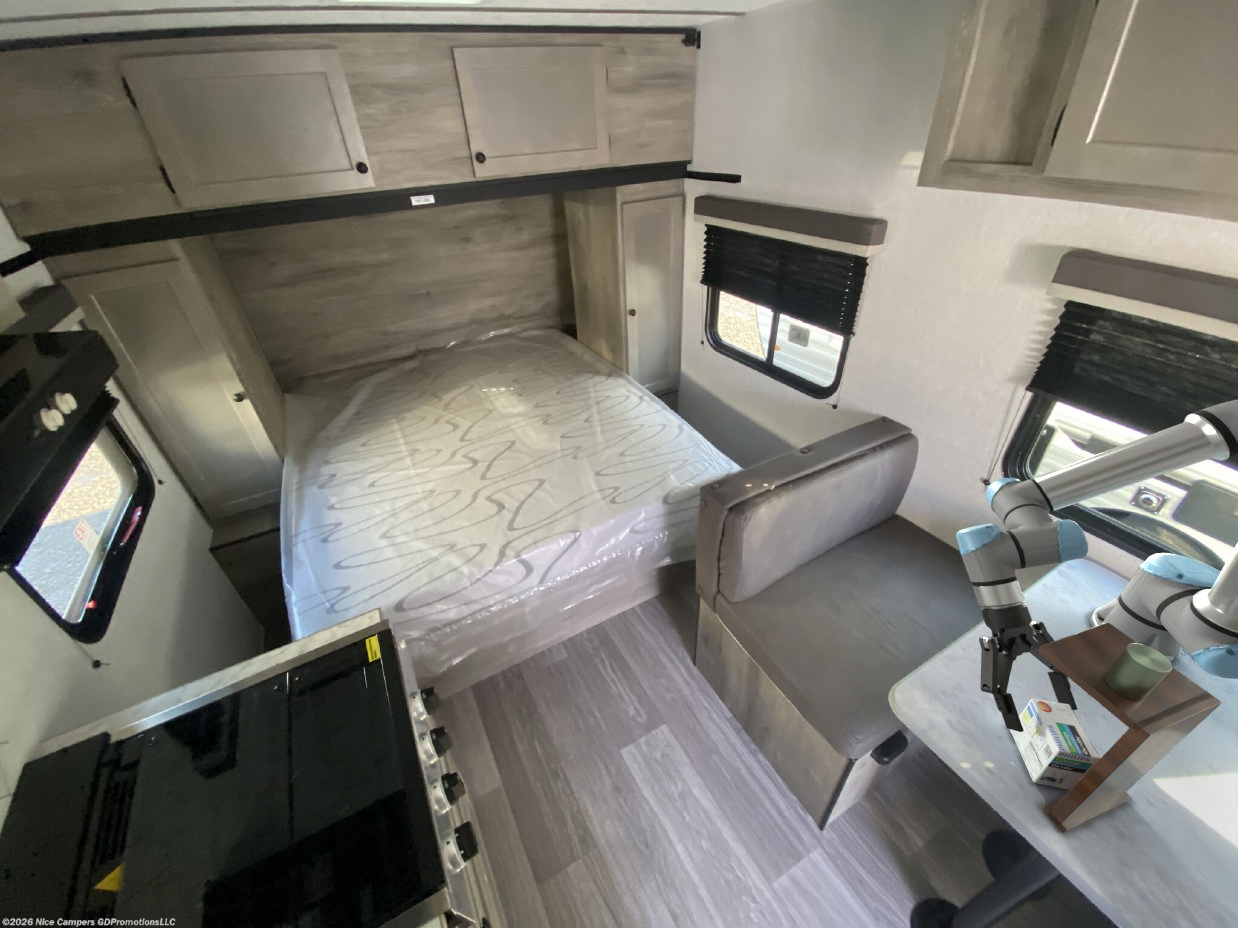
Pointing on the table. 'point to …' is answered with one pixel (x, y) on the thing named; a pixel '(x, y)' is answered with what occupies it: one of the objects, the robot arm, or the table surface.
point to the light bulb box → (1054, 744)
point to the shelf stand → (1124, 714)
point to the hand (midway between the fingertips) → (1042, 718)
